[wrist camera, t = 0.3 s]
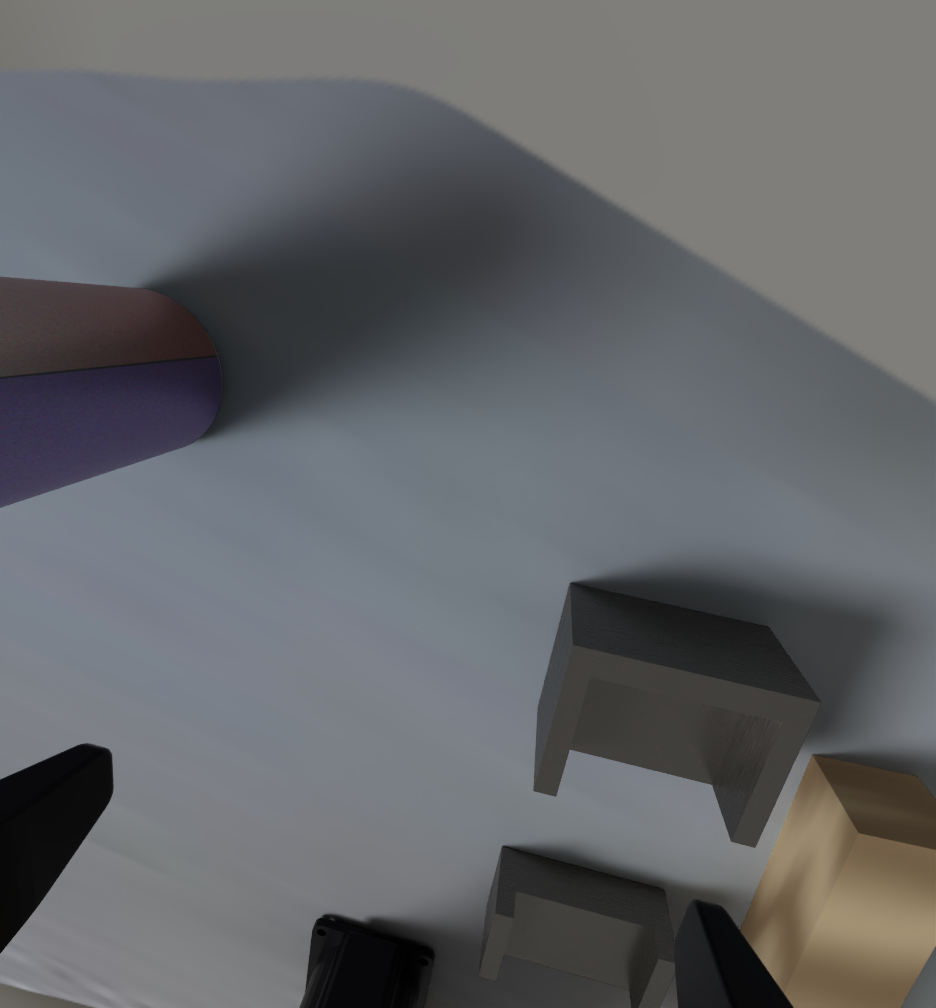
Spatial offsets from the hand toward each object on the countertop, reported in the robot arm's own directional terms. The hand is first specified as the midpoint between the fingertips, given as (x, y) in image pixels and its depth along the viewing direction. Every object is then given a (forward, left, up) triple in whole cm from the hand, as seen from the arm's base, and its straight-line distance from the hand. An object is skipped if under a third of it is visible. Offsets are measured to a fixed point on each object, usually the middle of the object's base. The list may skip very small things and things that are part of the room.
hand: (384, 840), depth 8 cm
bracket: (-5, -7, -14) cm, 17 cm away
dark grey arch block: (-18, -7, -14) cm, 24 cm away
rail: (-14, -17, -14) cm, 26 cm away
